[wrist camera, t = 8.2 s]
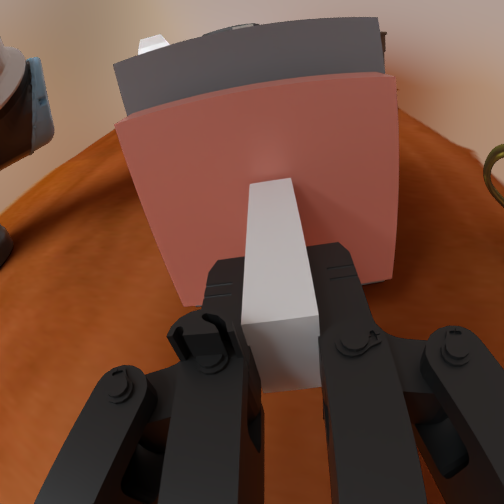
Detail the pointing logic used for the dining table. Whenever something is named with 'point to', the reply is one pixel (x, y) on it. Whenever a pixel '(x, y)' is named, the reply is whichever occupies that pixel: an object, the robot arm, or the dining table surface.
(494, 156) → the ceramic cup
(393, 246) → the pink piece
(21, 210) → the dining table surface
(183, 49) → the press housing
